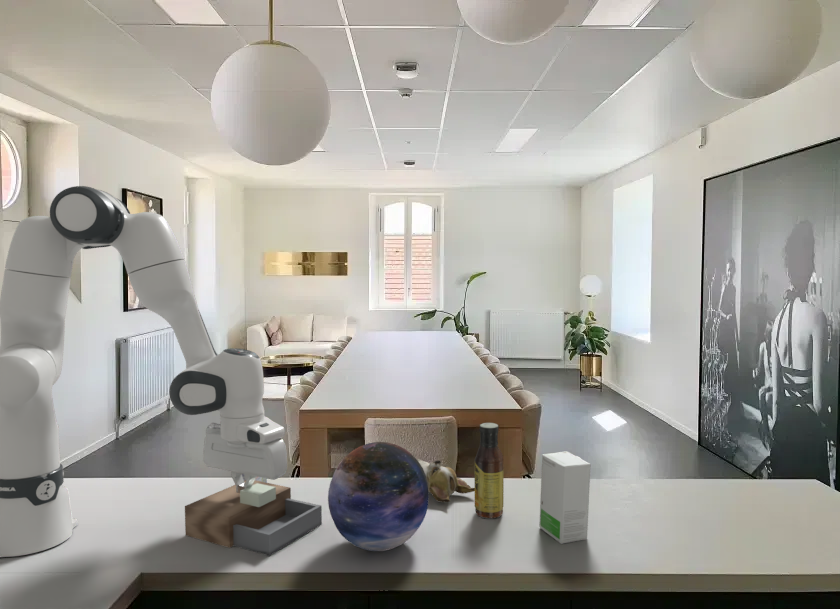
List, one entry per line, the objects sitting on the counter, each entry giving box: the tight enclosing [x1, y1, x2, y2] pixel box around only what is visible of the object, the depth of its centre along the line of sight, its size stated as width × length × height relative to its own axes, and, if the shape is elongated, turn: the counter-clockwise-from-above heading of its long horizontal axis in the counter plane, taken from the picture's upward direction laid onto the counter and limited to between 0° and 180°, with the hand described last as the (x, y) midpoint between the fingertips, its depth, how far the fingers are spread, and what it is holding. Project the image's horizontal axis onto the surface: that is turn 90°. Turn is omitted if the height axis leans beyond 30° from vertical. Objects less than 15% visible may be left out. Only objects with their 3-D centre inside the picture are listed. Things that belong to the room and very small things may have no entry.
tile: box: [240, 483, 276, 507], centre depth 127 cm, size 5×5×2 cm
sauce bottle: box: [473, 422, 505, 519], centre depth 134 cm, size 7×6×20 cm
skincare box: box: [539, 450, 591, 545], centre depth 125 cm, size 8×7×16 cm
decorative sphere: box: [327, 441, 430, 552], centre depth 119 cm, size 19×20×20 cm
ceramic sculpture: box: [416, 458, 475, 503], centre depth 146 cm, size 11×9×15 cm
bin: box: [233, 498, 323, 557], centre depth 125 cm, size 9×16×4 cm, turn 152°
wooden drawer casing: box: [184, 480, 292, 549], centre depth 130 cm, size 12×18×6 cm, turn 152°
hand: (244, 492), depth 129 cm, fingers closed
